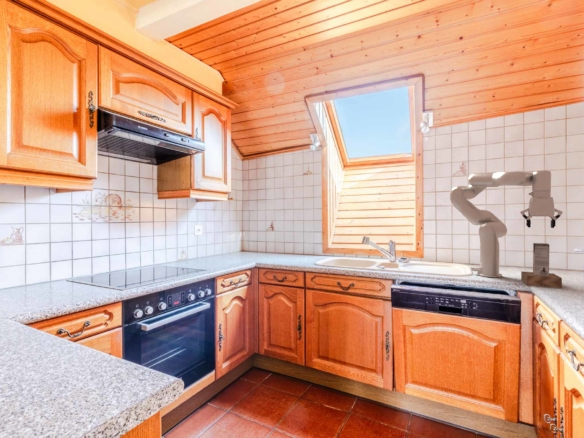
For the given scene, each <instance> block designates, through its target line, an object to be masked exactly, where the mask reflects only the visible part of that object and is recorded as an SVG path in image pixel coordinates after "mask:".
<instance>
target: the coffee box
mask: <svg viewBox="0 0 584 438" xmlns="http://www.w3.org/2000/svg"><path fill="white" fill-rule="evenodd" d="M532 245H533V247H532V272H533V274H534V275H537V276H549V273H550V244H549V243H543V242H542V243H541V242H533V243H532Z"/></svg>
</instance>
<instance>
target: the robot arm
mask: <svg viewBox="0 0 584 438" xmlns="http://www.w3.org/2000/svg"><path fill="white" fill-rule="evenodd" d="M467 181H468V184H469V185H468V186H467V185H457V186H455V187H453V188H452V189H451V191H450V193H449V198H450V202H451V204H452V206H453V207H454V208H456V210H457V211H458V212H459V213H460V214H461V215H462V216H463V217H465V219H467V220H468V222H470V223H471V224H472V225H474V226H479V229H478V236H479V242H480V244H479V245H480V247H479V249H480V252H479V253H480V259H479V260H480V261H479V263H480V264H479V266H478V267H470V268H471V269H470V271H473V272H476V275H478V276H480V277H486V278H502V277H503V274H502V273H500V243H499V238H503V237H504V236H506V235H507V234H508V228H507V226H506V224H505V223H504V222H503V221H501V220H500V219H499V218H498V217H497V216H496V215H495V214H494V213H493V212H491V211H489V210H488V209H479V208H478V207H476V206H475V205H474V204H473V203H472V202H471V201H470V200H472V199H475V198H476V197H477V196H478V195H480V194H481V193H482V192H484V191H485V189H487V188H498V187H499V186H501V187H503V186H516V187H517V186H519V187H530V186H531V192H528V196H531V197H530V198H529V202H528V208H526V209H523V210H521V211H519V212H520V215H521V216H522V218H524V219H525V220H526V223H525V224H526V225H525V226H526V227H527V228H531V224H532V223H531V222H532V220H531V219H532V218H533V217H549V218H550V219H551V220H550V228H551V229H554V228H555V227H556V221H557V220H558V219H559V218H560V217H561V216H562V214H563V213H564V212H563V211H561V210H559V209H557V208H555V201H554V197H553V196H552V195H551V194H552V193H551V192H552V191H551V190H552V172H551V171H550V170H535V171H533V172H531V171H530V172H529V171H518V170H517V171H516V170H515V171H500V172H499V171H498V172H496V171H495V172H494V171H493V172H477V173H476V172H475V173H472V174H470V175H469V176H468V179H467ZM555 212H556V213H557V214H556V215H555ZM525 213H527V214H528V215H526V214H525Z"/></svg>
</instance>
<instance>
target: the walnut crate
mask: <svg viewBox="0 0 584 438" xmlns="http://www.w3.org/2000/svg"><path fill="white" fill-rule="evenodd" d="M520 277H521V279H520V281H521V282H522V281H523V282H522V283H523V284H525V285H526V286H530V287H533V286H534V287H543V288H553V289H556V288H557V289H562V286H563V278H562V277H561V276H559V275H557V274H555V273H550V272H549V276H537V275H534V274H533V271H522V270H521V272H520Z"/></svg>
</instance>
